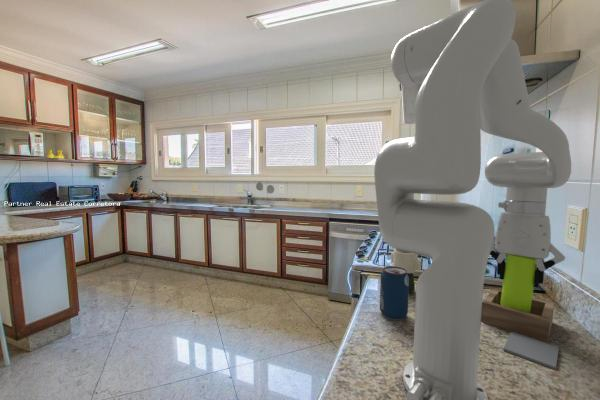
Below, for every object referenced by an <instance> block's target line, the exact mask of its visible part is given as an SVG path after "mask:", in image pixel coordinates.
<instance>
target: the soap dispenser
mask: <svg viewBox="0 0 600 400" xmlns="http://www.w3.org/2000/svg"><path fill="white" fill-rule="evenodd" d="M505 262H506V264H505V271H504V279H502V280H503V281H502V288H501V290H502V294H501V301H500V304H501V305H503V306H507V307H510V308H514V309H518V310H521V311H525V312H529V313H530V310H531V303H532V298H533V297H534V296H533V295H534V289H535V286H534V280H535V270H536V269H537V264H536V259H533V258H527V257H522V256H516V255H509V254H507V256H506V258H505Z"/></svg>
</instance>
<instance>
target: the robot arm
mask: <svg viewBox="0 0 600 400" xmlns="http://www.w3.org/2000/svg"><path fill="white" fill-rule="evenodd" d="M516 16H517V15H516V9H515V4H513V1H512V0H483V1H479V2H477V3H475V4H472V5H470V6H469V5H468V7H464V8H462V9H461V10H460V9H459V11H456V12H454V13H452V14H449V15H448V16H445V17H443V18H441V19H439V20H437V21H435V22H432V23H431V24H429V25H426V26H423V27H422V28H420V29H418V30H415V31H413V32H411V33H409V34H407V35H405V36H404V37H402V38H401V39H400V40H399V41H398V42H397V43H396V45H395V47H394V48H393V50H392V53H391V57H390V64H391V71H392V73H393V76H394V78H395V79H396V81H397V82H398V83H400V84H401V85H402V86H404V88H406V89H408V90H411V91H413V92H416V93H417V95H416V99H415V102H414V103H415V105H414V122H415V124H414V125H415V131H414V133H415V134H414V136H408V137H401V138H396V139H393V140H391V141H388V142H386V143H385V144H384V145H383V146H382V147H381V148H380V150H379V152H378V153H377V157H376V159H375V163H374V170H373V171H374V188H375V198H376V208H377V218H378V219H377V220H378V226H379V227H378V228H379V231H380V235H381V237H382V240H383V241H384V243H385V244H387V245H388V246H389V247H391V248H392V249H399V250H402V251H406V252H411V253H415V254H418V256H419V255H420V256H423V257H426V258H429V259H431V260H432V262H431V264H430V265H429V266H427V268H426V269H425V270H424V271H423V272H422V273H421V274H420V275H419V277H418V279H417V281H416V287H415V304H414V305H415V306H414V307H415V309H414V326H413V327H414V332H413V353H412V354H413V355H412V361H409V362H408V363H407V364H406V365H405V366H404V368H403V371H402V382H403V385H404V388H405V389H406V391H407V393H406V394H405V399H406V400H489V399H488V394H487V391H486V390H485V388H484V386H483V385H482V384H481V383H480V382H479V381H478V374H479V356H480V342H481V341H480V340H481V329H482V328H481V326H482V325H481V324H482V322H481V313H482V302H483V293H484V284H485V277H486V276H485V275H486V272H487V266H488V265H487V264H488V261H489V257H490V255H491V257H493V259H494V260H495V261H496V263H497V268H496V271H497V272H496V273H497V274H496V275H499V279H500V280H503V279H504V271H505V264H506V257H507V254H509V255H516V256H522V257H527V258H533V259H536V264H537V269H536V270H535V280H534V288H539V286H540V284H541V285H543V284H544V276H545V275H544V274H545V271H546V270H548V269H550V268H551V267H554V266H556V265H557V264H560V263H561V262H564V261H565V260H566V256H565V255H564V254H563V253H562V252H561V251H560V250H559V249H558V248H557V247H555V246H554V245H553V244H552V243H551V241H552V240H551V239H552V237H551V234H552V232H551V222H550V217H549V215H546V209H547V198H548V189H554V188H555V189H556V188H560V187H562V186H564V185H565V184H566V183H567V182H568V181H569V180H570V177H571V173H572V159H571V158H572V157H571V152H570V144H569V139H568V138H567V135H566V133H565V132H564V130H562V128H561V127H560V126H559V125H558V124H556V123H555V122H554V121H553V120H552V119H550V118H549V117H547V116H545V115H543V114H541V113H540V112H537V111H535V110H533V109H532V107H531V104H530V98H529V93H528V89H527V82H526V79H525V77H526V76H525V72H524V68H523V63H522V58H521V53H520V48H519V45H518V44H517V41H515V40H514V39H512V37H513V34H514V30H515V24H516ZM481 131H482V132H483V133H486V134H489V135H491V136H496V137H500V138H504V139H507V140H511V141H512V140H513V141H517V142H519V143H520V142H521V143H524V144H527V145H530V146H533V147H535V148H537V149H538V150H540V151H538V152H535V151H534V152H520V153H504V154H503V153H502V154H498V155H495V156H493V157H491V158H490V159H489V160H488V162H486V164H485V166H484V176H485V179H486V181H487V182H488V183H489V184H491V185H492V186H495V187H498V188H506V196H505V200H504V201H502V202H501V201H500V202H498V204H497V205H498V208H500V209H503V210H504V212H500V215H499V217H498V218H499V219H498V222H497V227H496V235H495V222H494V220H493V218H492V216H491V215H490V214H489V213H488V212H487V211H486V210H485V209H483V208H481V207H479V206H477V205H474V204H470V203H465V202H460V201H459V202H458V201H445V200H444V201H443V200H428V199H427V200H426V199H415V196H414V194H417V195H419V194H420V195H438V196H440V195H443V196H444V195H445V196H455V195H461V194H466V193H468V192H471V191H472V190H473V189H474V188H476V186H477V185H478V183H479V181H480V176H481V169H482V167H481V163H482V161H481V159H482V156H481V155H482V152H481V151H482V149H481V147H482V146H481V144H482V141H481V140H482V139H481ZM493 246H494V247H493ZM550 253H551V254H552V255H553V256H554V257H553V258H551V259H548V260H547V261H545V259H547V258H549V256H550Z"/></svg>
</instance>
